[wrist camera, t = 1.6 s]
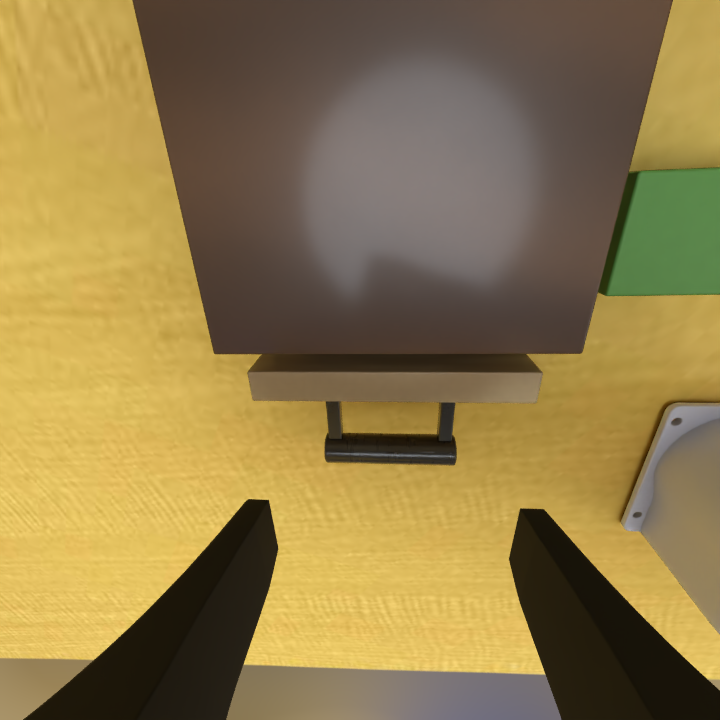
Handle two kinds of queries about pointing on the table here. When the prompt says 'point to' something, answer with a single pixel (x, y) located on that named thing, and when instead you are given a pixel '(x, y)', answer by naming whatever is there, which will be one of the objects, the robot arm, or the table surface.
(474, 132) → the cabinet
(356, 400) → the drawer
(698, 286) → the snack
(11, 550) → the table surface
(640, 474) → the robot arm
